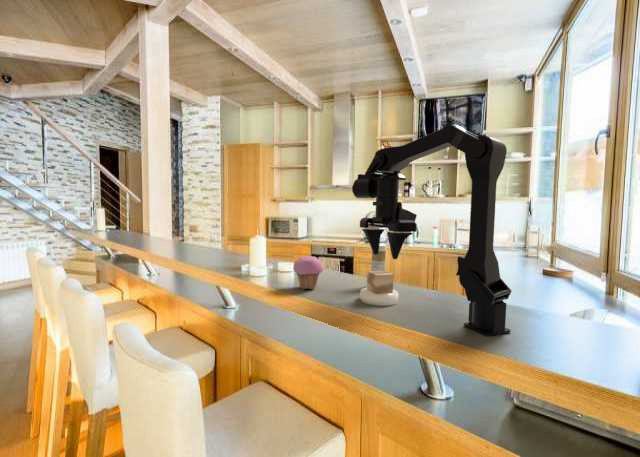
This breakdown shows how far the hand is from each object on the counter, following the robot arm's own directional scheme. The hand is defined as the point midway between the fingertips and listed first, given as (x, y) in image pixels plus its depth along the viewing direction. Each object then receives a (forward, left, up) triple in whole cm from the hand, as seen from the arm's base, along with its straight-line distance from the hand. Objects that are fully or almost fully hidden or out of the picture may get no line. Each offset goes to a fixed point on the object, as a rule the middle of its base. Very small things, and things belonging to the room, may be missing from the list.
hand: (385, 256), depth 91 cm
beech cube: (0, +1, -9) cm, 9 cm away
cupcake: (+18, +15, -12) cm, 27 cm away
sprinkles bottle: (+14, -7, -12) cm, 20 cm away
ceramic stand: (0, +1, -12) cm, 12 cm away
